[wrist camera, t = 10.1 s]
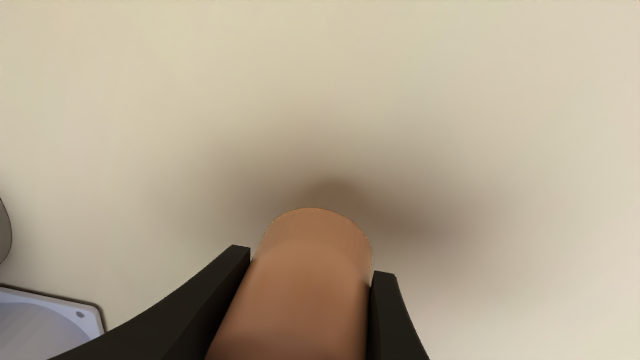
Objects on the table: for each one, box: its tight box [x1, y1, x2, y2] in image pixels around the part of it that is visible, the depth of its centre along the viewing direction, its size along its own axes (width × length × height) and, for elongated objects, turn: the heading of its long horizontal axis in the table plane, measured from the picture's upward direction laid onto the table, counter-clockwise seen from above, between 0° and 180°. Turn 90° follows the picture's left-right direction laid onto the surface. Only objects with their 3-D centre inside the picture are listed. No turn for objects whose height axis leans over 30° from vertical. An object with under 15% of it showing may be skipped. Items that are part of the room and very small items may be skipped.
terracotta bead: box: [205, 208, 373, 360], centre depth 12 cm, size 4×4×5 cm
